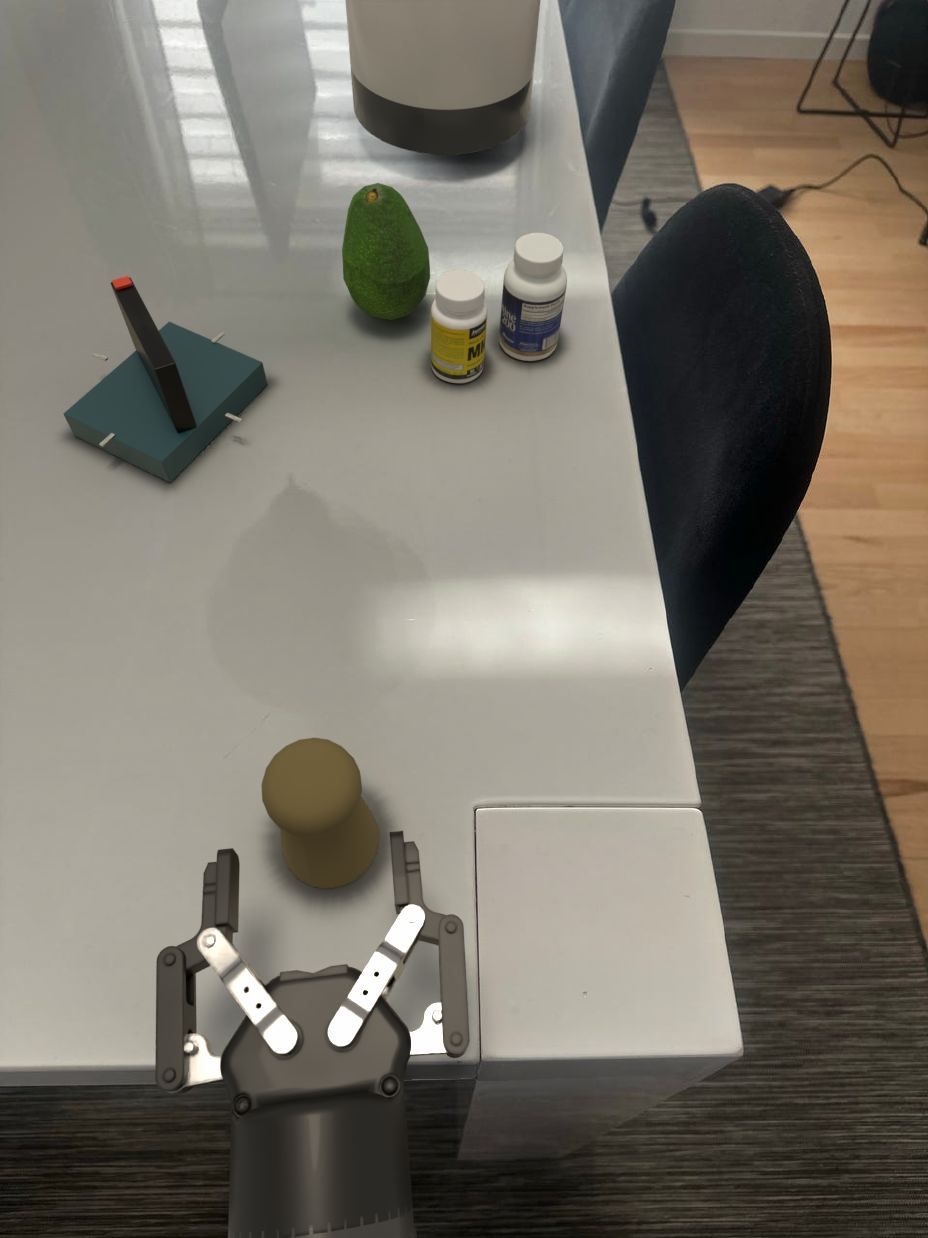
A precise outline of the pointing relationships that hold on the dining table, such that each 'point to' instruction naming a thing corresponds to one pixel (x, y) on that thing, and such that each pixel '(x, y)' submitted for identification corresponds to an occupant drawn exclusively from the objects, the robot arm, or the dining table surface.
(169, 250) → the dining table surface
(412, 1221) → the robot arm
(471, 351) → the supplement bottle
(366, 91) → the planter
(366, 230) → the avocado
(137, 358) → the teal base plate
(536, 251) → the pill bottle
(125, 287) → the red-tipped black panel
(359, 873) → the cork
